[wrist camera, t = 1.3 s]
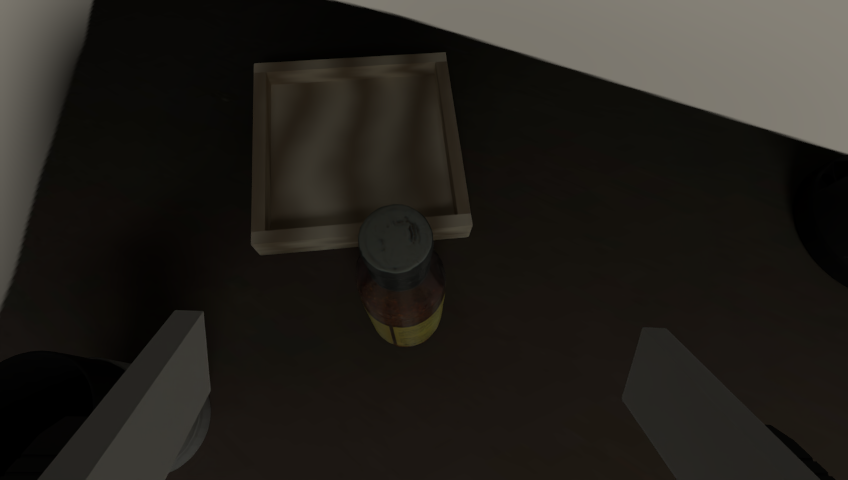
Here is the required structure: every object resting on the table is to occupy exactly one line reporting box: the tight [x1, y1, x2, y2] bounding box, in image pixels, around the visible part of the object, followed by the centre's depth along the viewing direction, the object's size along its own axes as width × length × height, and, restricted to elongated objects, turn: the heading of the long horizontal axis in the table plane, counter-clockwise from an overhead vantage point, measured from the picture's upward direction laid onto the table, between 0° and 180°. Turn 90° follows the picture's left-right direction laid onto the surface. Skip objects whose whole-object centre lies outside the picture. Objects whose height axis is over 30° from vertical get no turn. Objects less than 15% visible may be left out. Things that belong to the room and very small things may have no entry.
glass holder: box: [0, 351, 211, 477], centre depth 33 cm, size 9×14×15 cm, turn 81°
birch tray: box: [251, 52, 473, 255], centre depth 48 cm, size 20×20×3 cm
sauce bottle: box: [356, 204, 446, 347], centre depth 34 cm, size 6×6×20 cm
